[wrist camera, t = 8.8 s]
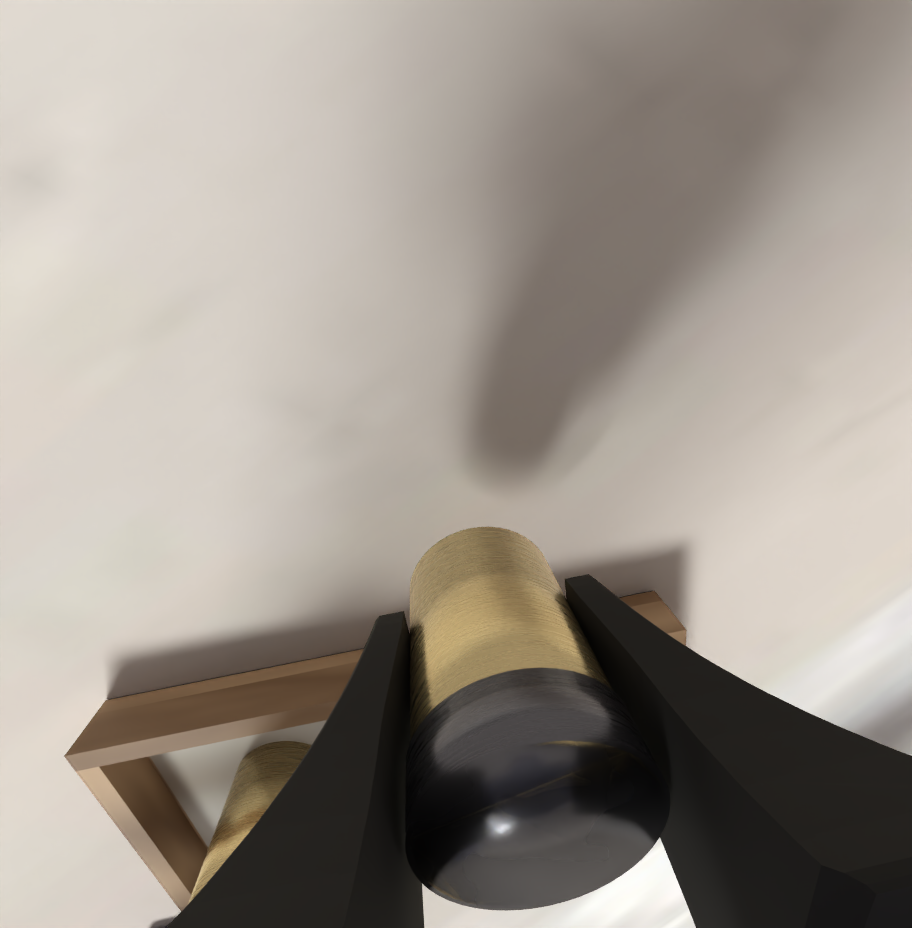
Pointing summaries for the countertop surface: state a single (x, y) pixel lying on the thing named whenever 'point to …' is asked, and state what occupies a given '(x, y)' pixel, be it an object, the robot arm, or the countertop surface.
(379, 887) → the robot arm
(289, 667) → the holder
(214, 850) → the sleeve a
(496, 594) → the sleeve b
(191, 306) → the countertop surface
